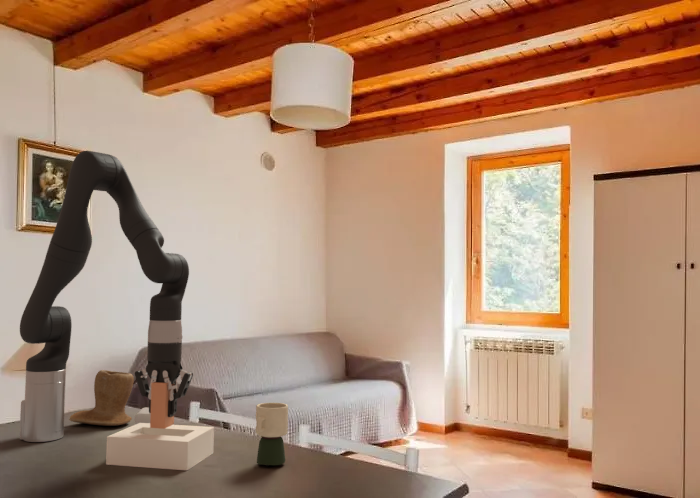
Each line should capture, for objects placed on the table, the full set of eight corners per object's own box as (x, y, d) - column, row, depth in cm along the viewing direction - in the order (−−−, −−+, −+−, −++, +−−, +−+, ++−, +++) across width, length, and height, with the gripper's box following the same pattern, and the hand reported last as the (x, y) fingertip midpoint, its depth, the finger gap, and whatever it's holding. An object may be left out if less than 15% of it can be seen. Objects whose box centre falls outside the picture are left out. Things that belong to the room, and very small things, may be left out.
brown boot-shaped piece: (141, 421, 178) (143, 368, 179) (114, 430, 167) (116, 374, 168) (96, 417, 183) (98, 366, 183) (67, 426, 171) (69, 371, 172)
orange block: (150, 427, 140) (151, 382, 140) (159, 423, 144) (161, 379, 145) (164, 428, 139) (165, 383, 140) (173, 424, 144) (175, 380, 144)
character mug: (270, 456, 144) (272, 399, 145) (297, 460, 141) (298, 402, 142) (243, 468, 134) (244, 407, 135) (270, 473, 131) (272, 411, 132)
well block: (106, 464, 136) (107, 436, 137) (139, 447, 150) (139, 422, 150) (187, 470, 133) (188, 441, 133) (213, 452, 147) (214, 427, 147)
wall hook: (183, 432, 164) (181, 396, 162) (168, 452, 154) (165, 414, 152) (154, 431, 164) (151, 395, 163) (137, 451, 154) (133, 413, 153)
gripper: (127, 340, 141) (125, 417, 140) (186, 342, 138) (184, 421, 137) (144, 337, 148) (142, 411, 147) (200, 339, 145) (198, 414, 144)
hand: (162, 415), depth 142 cm, fingers closed on orange block, 3 cm apart
